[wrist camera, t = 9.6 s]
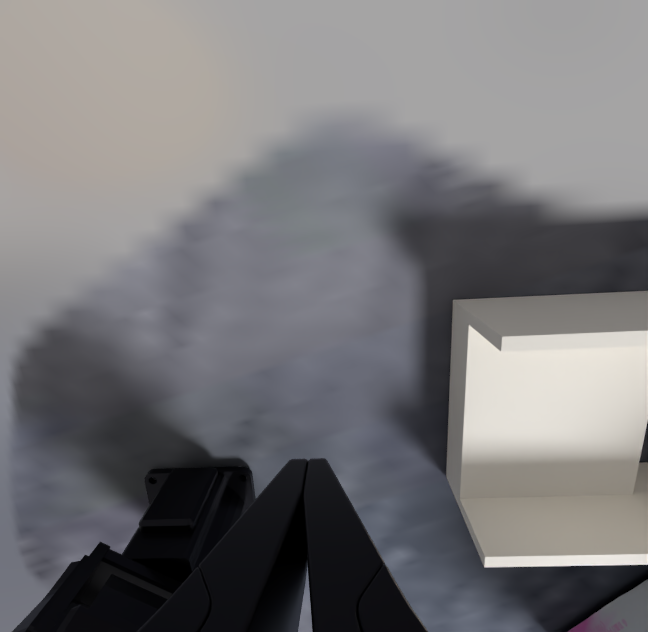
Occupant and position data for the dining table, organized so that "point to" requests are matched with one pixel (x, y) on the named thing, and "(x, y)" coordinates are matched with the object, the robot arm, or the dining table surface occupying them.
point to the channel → (551, 428)
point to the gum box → (620, 614)
